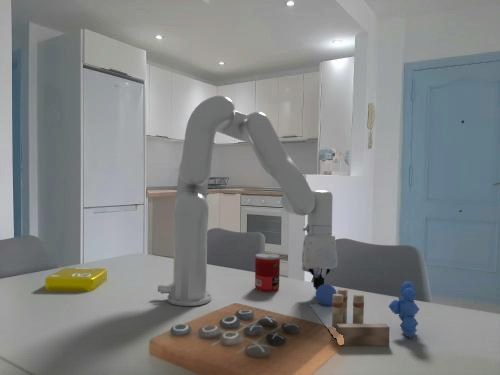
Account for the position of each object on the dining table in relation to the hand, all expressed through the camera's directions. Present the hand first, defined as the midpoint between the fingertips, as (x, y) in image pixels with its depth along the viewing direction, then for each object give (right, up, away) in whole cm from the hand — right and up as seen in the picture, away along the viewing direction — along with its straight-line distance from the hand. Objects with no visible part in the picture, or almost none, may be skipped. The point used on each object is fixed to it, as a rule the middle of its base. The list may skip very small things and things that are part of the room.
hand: (318, 289), depth 118 cm
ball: (0, +1, -10) cm, 10 cm away
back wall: (+3, -2, -35) cm, 36 cm away
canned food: (-16, -2, +6) cm, 17 cm away
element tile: (-77, -1, +6) cm, 78 cm away
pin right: (+4, -2, -28) cm, 29 cm away
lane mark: (+1, -2, -21) cm, 21 cm away
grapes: (+15, -3, -29) cm, 32 cm away
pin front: (+1, -2, -24) cm, 24 cm away
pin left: (-1, -2, -29) cm, 29 cm away
